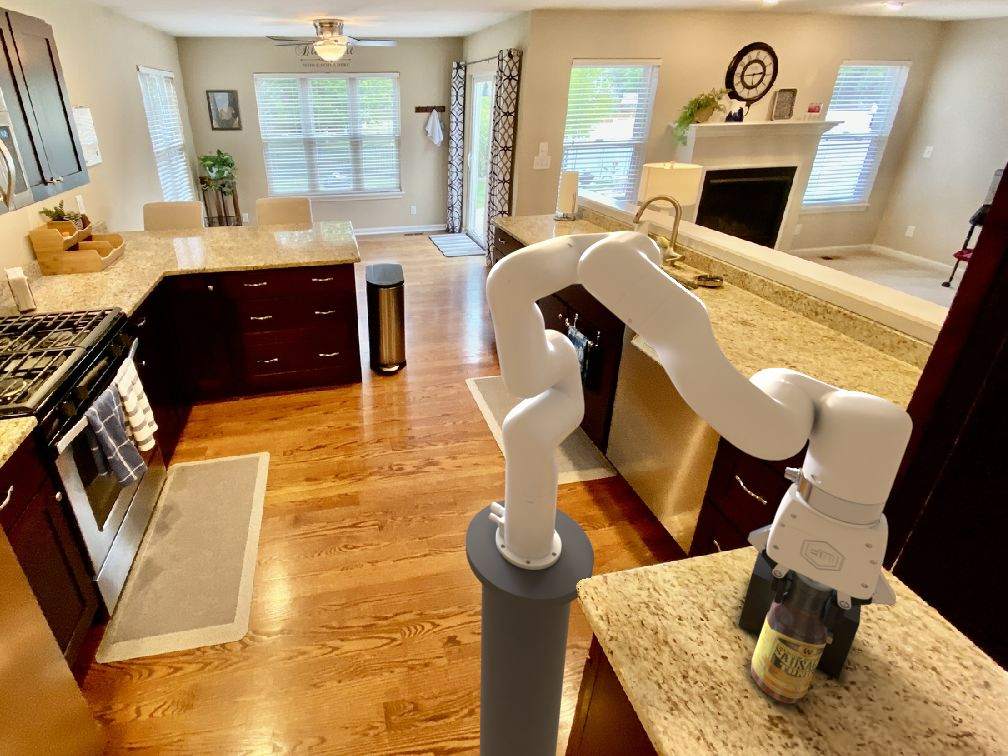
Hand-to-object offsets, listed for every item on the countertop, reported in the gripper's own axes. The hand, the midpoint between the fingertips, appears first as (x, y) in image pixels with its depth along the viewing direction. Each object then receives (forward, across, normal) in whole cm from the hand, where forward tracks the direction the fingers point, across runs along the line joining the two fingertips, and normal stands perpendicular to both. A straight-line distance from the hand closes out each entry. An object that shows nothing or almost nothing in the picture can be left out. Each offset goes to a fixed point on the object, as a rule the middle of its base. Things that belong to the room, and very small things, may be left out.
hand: (803, 606), depth 63 cm
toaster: (+15, 0, +11) cm, 18 cm away
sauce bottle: (+15, 0, 0) cm, 15 cm away
